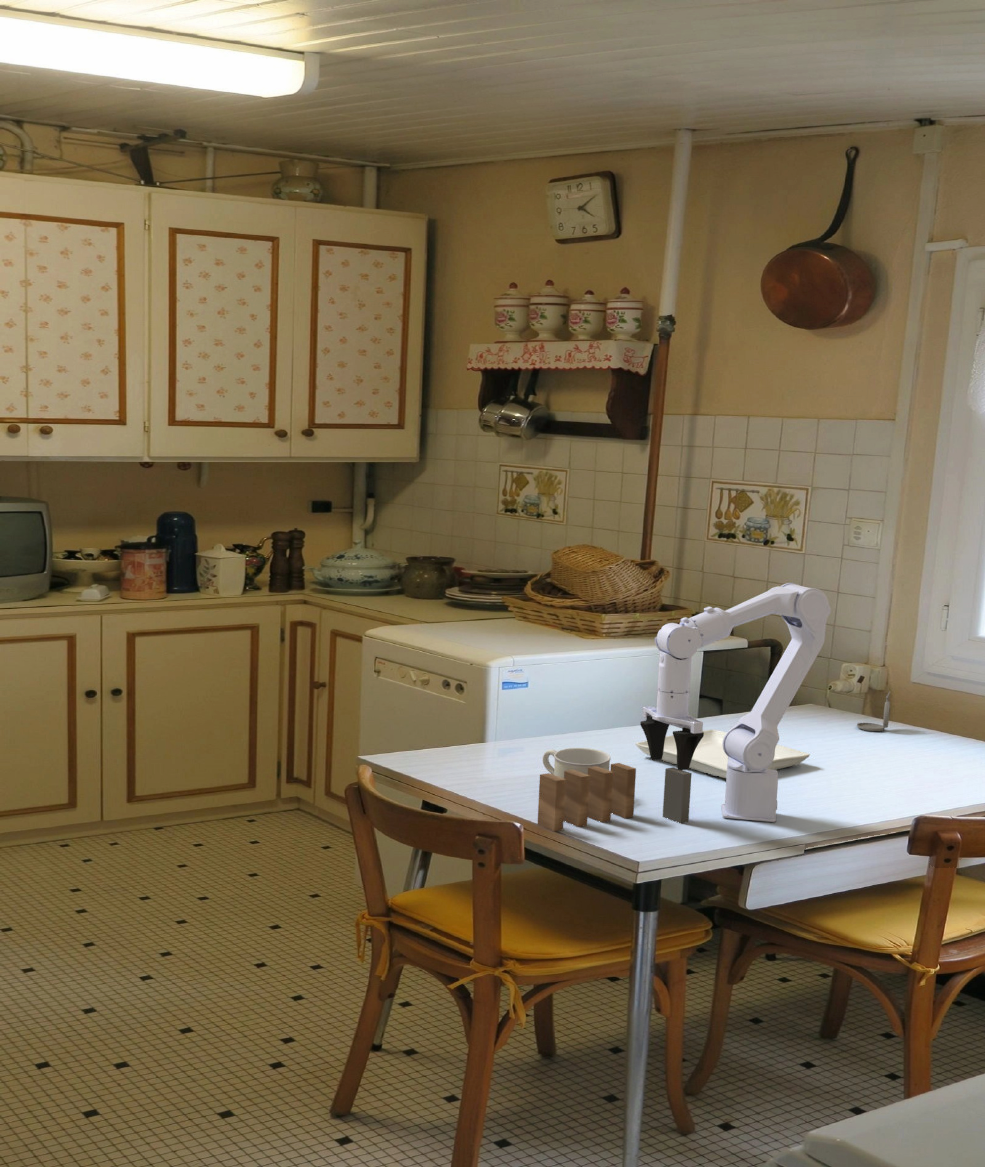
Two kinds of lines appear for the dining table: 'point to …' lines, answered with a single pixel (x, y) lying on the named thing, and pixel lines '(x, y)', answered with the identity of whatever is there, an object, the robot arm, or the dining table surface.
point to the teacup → (575, 760)
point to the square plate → (721, 754)
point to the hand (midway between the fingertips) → (669, 764)
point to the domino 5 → (677, 795)
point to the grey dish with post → (876, 726)
